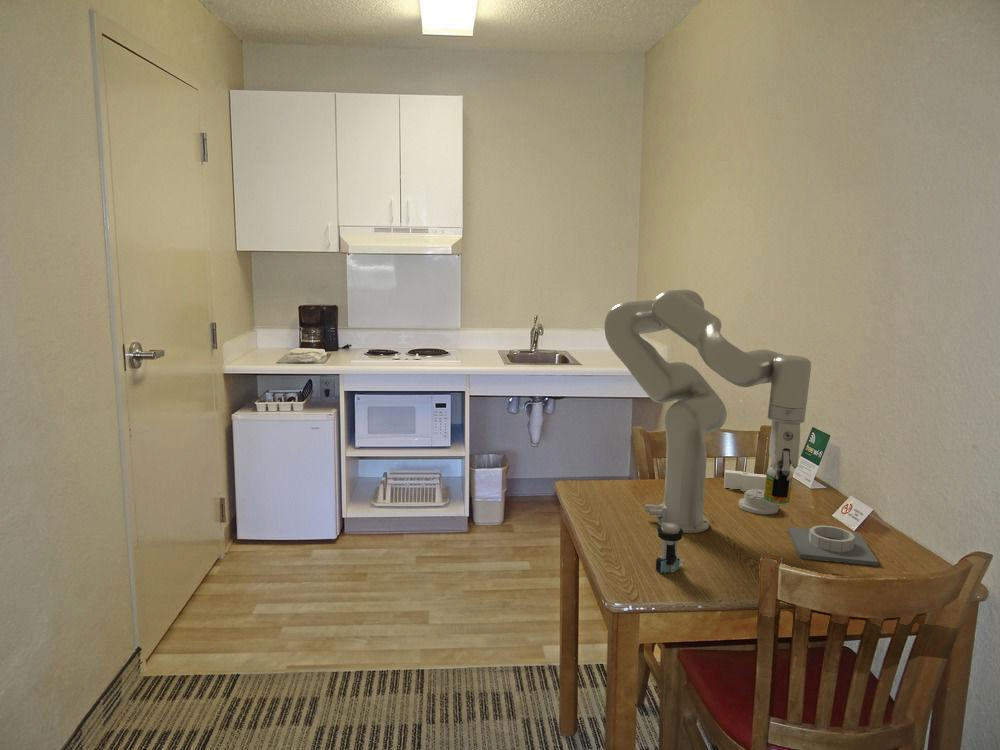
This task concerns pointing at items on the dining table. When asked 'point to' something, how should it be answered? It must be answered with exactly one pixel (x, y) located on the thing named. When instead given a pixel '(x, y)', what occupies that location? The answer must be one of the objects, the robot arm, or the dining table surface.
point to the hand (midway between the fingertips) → (777, 491)
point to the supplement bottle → (769, 484)
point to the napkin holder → (744, 480)
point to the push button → (669, 547)
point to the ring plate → (831, 545)
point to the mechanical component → (756, 503)
